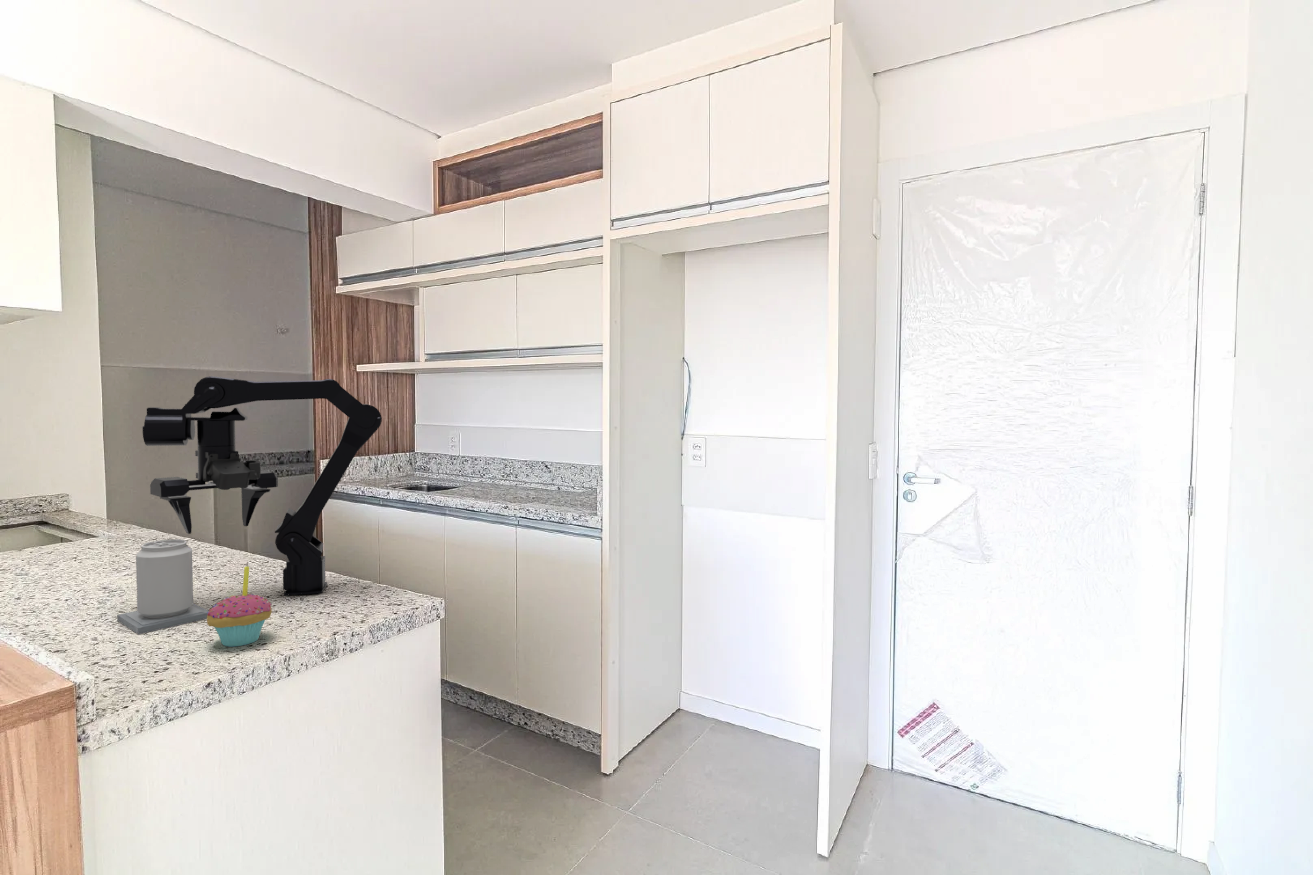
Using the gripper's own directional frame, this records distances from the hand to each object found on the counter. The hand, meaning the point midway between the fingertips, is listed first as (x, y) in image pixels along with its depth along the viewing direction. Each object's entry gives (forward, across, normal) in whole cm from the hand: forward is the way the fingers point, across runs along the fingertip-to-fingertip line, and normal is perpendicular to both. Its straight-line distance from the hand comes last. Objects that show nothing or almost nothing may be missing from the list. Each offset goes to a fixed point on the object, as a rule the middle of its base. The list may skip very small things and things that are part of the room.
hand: (218, 529), depth 118 cm
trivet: (+13, -10, -5) cm, 17 cm away
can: (+12, -10, -5) cm, 16 cm away
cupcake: (+13, -6, -25) cm, 29 cm away
